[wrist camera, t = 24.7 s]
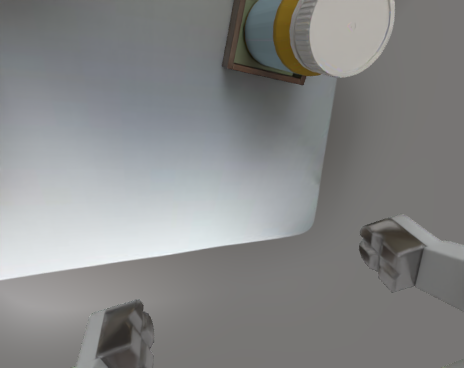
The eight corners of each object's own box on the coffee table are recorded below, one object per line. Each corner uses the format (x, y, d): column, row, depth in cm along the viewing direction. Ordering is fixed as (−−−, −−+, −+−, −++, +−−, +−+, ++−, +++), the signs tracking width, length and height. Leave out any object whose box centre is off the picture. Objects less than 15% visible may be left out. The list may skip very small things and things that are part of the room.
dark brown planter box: (221, 65, 31) (227, 68, 29) (239, -33, 27) (247, -40, 25) (293, 81, 34) (303, 85, 32) (318, -6, 30) (333, -10, 28)
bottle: (233, 9, 28) (291, -15, 16) (293, -17, 28) (400, -62, 16) (253, 75, 32) (313, 99, 19) (306, 51, 32) (402, 60, 19)
